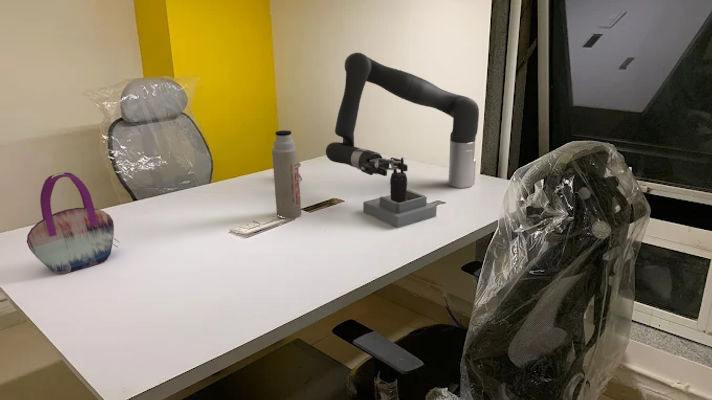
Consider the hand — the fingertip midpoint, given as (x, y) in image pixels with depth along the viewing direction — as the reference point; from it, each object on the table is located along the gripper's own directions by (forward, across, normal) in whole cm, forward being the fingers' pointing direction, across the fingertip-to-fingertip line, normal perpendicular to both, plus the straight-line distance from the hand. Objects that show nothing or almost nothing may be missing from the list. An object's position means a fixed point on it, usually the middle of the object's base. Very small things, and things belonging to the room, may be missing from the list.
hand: (396, 170), depth 164 cm
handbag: (-24, -91, +15) cm, 95 cm away
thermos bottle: (-21, -29, +15) cm, 39 cm away
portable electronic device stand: (-56, -9, +15) cm, 58 cm away
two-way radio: (+1, 0, +11) cm, 11 cm away
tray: (+2, 0, +14) cm, 15 cm away
